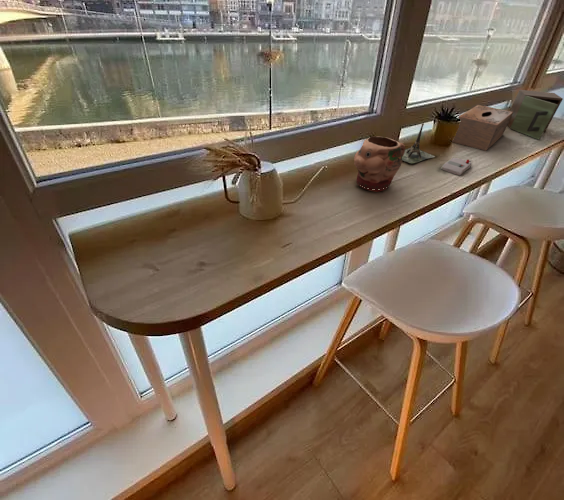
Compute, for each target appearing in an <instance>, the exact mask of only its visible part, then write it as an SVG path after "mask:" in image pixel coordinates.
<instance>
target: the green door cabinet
mask: <svg viewBox="0 0 564 500" xmlns="http://www.w3.org/2000/svg"><path fill="white" fill-rule="evenodd" d="M525 96H529V97H533V98H536V99H540V100H543V101H547V102H550V103H554V104H557V105H558V106H557V108H556V109H555V111H554V113H553V115H552V117H551V119H550V121H549V122H548V124H547V126H546V128H545V130H544V132H543V133H546V132H547V129H548V128H549V125H550V124H551V122H552V121H553V118H554V116H555V114H556V113H557V111H558V109H559V108H560V105H561V104H562V102H563V100H564V98H563V97H562V96H560V95H558V94H557V93H555V92H549V91H540V90H539V91H537V90H527V89H519V90H518V92H517V94H516V95H515V99H514V100H513V103H512V105H511V107H510V109H509V111H511V112H513V114H512V116H511V118H510V120H509V123H508V125H507V126H508V128H509V129H510V128H511V126H512V123H513V121H514V119H515V117H516V115H517V113H518V111H519V108H520V106H521V104H522V102H523V100H524V98H525Z"/></svg>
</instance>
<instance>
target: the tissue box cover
mask: <svg viewBox="0 0 564 500" xmlns="http://www.w3.org/2000/svg"><path fill="white" fill-rule="evenodd" d="M512 114H513V112H511V111H510V110H505V109H500V108H497V107H491V106H486V105H481V104H476V105H475V106H473V107H472V108H470V109H469V110H467V111H465V112H463V113H462V114H460V115H458V116H457V119H458V118H459V119H460V120H461V122H460V125H459V128H458V131H457V133H456V136H455V138H454V140H452V142H451V143H454V144H459V145H463V146H466V147H471V148H474V149H477V150H481V151H485V152H487V151H488V150H489V149H490V148H491V147H492V146H493V145H494V144H495V143H496V142H498V140H500V138H501V137H503V136H504V134H505V131H506V129H507V126H508V123H509V120H510V118H511V116H512Z"/></svg>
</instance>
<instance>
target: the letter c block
mask: <svg viewBox="0 0 564 500" xmlns="http://www.w3.org/2000/svg"><path fill="white" fill-rule="evenodd" d="M557 106H558V105H557V104H554V103H550V102H547V101H543V100H540V99H536V98H533V97H529V96H525V98H524V100H523V102H522V104H521V106H520V108H519V111H518V113H517V115H516V117H515V119H514V121H513V123H512V126H511V128H510V127H509V129H510V130H513V131H515V132H518V133H520V134H523V135H526V136H527V137H528V136H529V137H531V138H533V139H536V140H540V139H541V137H542V136H543V134H544V133H545V132H544V130H545V128H546V126H547V124H548V122H549V121H550V119H551V117H552V115H553V113H554V111H555V109H556V108H557Z"/></svg>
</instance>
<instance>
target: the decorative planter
mask: <svg viewBox="0 0 564 500" xmlns="http://www.w3.org/2000/svg"><path fill="white" fill-rule="evenodd" d="M405 149H406V145H405V144H404V143H402V142H399V141H398V140H395V139H392V138H391V137H385V136H375V135H372V136H369V137H368V138H366V139H364V141H363V143H362V145H361V147H360V148H359V150H357V152H355V154H354V156H353V157H354V158H353V164H354V166H355V168H356V169H357V176H356V184H357V185H358V186H359V187H360V188H362V189H364V190H367V191H369V192H374V193H375V192H382V191H386V190H387V189H388V188H389V187H390V185H391V184H392V181H393V180H394V178H395V176H396V174H397V172H398V171H399V170H400V169H401V166H402V163H403V160H402V157H403V155H404V153H405ZM360 185H361V186H360ZM362 186H363V187H362ZM388 186H389V187H388ZM364 187H365V188H364ZM386 187H387V188H386ZM367 188H369V189H367ZM383 188H384V189H383ZM372 189H375V190H372ZM378 189H380V190H378Z"/></svg>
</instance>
